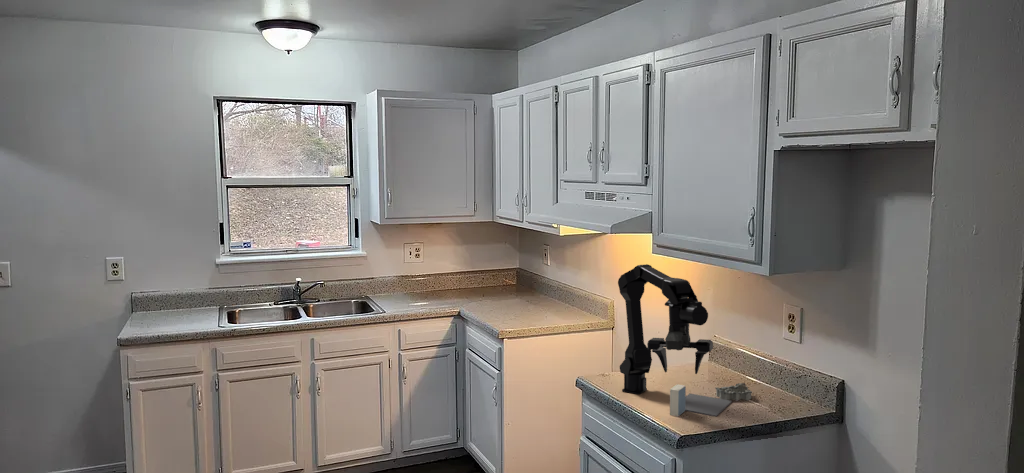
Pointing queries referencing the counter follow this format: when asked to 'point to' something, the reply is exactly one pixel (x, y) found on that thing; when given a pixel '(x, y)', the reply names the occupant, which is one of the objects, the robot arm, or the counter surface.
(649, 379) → the counter surface
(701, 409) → the mat
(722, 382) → the counter surface
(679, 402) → the card box
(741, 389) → the egg carton
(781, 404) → the counter surface
